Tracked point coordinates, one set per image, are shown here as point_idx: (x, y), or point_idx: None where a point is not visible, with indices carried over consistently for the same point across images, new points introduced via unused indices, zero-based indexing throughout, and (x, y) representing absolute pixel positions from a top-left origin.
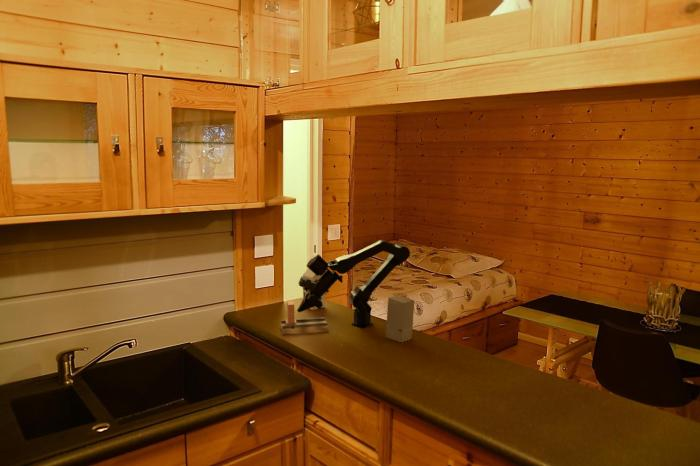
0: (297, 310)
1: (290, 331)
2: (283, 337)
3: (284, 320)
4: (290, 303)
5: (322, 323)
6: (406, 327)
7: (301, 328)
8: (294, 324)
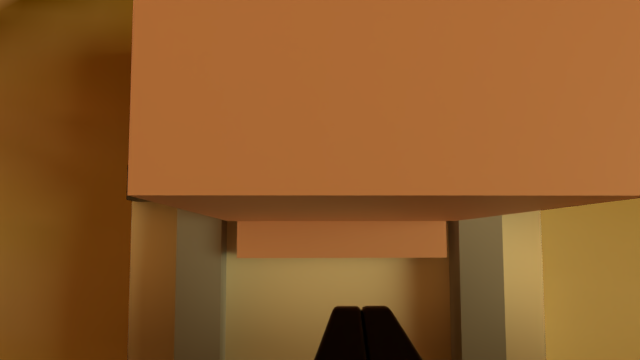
0: (335, 312)
1: None
2: (41, 51)
3: None
4: (315, 58)
5: None
6: None
7: (129, 325)
8: (214, 218)
